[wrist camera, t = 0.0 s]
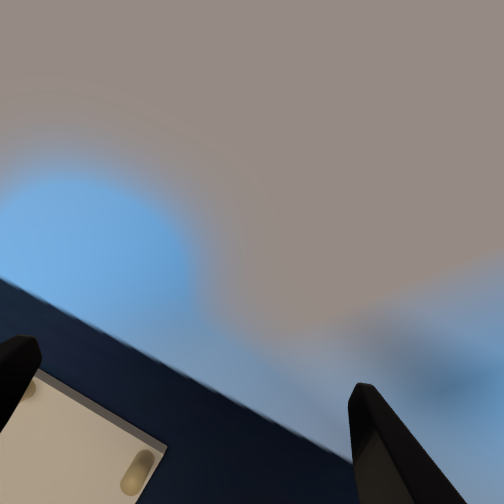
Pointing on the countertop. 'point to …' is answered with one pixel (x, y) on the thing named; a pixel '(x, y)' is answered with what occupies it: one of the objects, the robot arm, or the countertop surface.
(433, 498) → the robot arm
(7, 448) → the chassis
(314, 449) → the countertop surface
